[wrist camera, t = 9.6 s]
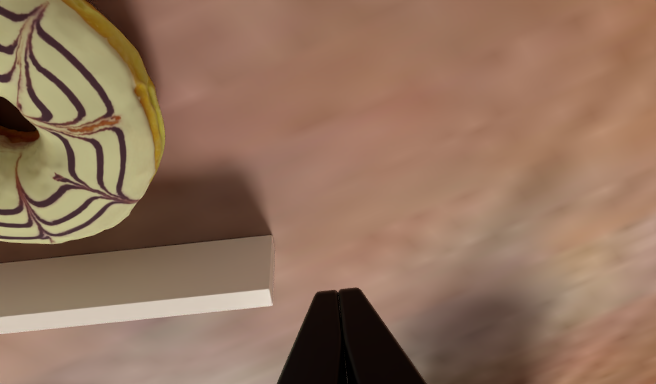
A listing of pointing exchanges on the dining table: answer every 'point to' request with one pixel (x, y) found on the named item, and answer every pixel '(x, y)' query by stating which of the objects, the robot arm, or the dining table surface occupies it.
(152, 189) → the dining table surface
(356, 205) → the dining table surface
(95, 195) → the decorated donut
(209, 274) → the box
